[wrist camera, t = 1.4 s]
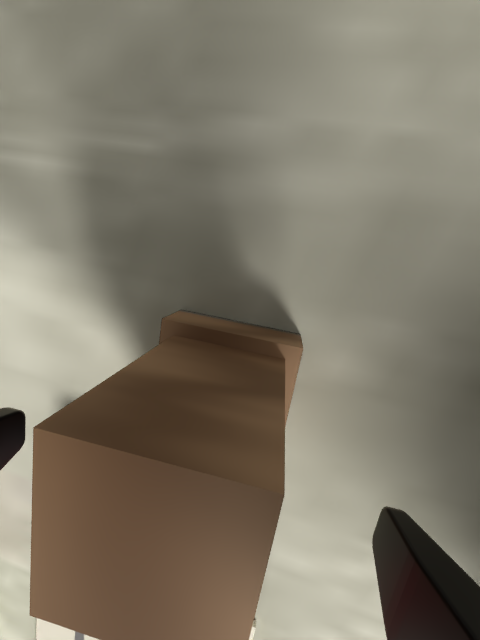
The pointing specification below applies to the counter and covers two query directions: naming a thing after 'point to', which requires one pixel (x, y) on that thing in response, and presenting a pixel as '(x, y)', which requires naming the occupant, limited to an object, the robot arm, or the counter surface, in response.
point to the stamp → (165, 487)
